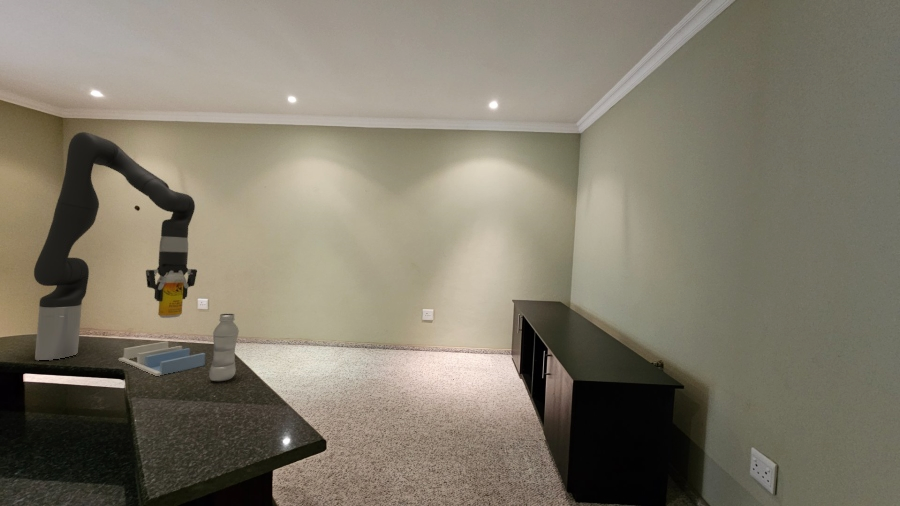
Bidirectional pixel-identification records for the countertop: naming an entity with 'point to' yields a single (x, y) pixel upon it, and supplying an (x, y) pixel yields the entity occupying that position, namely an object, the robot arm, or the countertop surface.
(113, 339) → the countertop surface
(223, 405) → the countertop surface
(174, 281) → the beer can
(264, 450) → the countertop surface
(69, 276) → the robot arm
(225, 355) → the plastic bottle
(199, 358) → the rack
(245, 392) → the countertop surface
